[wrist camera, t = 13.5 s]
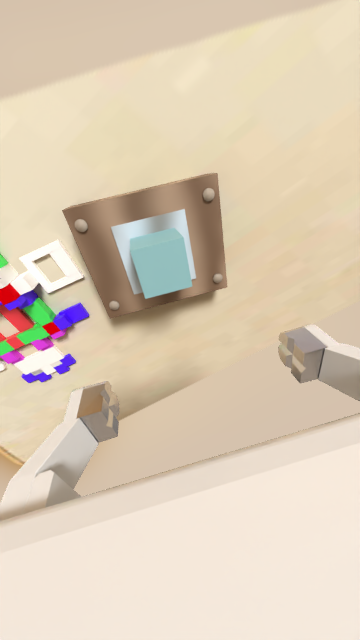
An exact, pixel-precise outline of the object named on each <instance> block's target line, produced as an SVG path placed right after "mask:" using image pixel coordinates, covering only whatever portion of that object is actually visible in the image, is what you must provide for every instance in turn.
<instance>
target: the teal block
mask: <svg viewBox="0 0 360 640" xmlns="http://www.w3.org/2000/svg"><path fill="white" fill-rule="evenodd" d="M130 252H131V255H132V259H133V262H134V265H135V268H136V271H137V274H138V277H139V281H140V284H141V287H142V290H143V293H144V296H145V299H147V298H151V297H155V296H159V295H162V294H166V293H170V292H174V291H177V290H181V289H185V288H189V287H192V281H191V276H190V270H189V264H188V259H187V253H186V248H185V242H184V237H183V236H182V235H181V234H180V233H179V232H178V231H177V230H176V229H175V228H171V229H167V230H163V231H159V232H155V233H151V234H147V235H143V236H139V237H135V238H131V239H130Z"/></svg>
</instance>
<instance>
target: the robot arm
mask: <svg viewBox="0 0 360 640" xmlns="http://www.w3.org/2000/svg"><path fill="white" fill-rule="evenodd" d="M279 340H280V341H281V344H280V346H279V347H278V352H279V356H280V359H281V360H282V362H283V363H284V365H285V366H287V367H289V368H291V373H292V374H293V376H294V377H295V378H296V379H297V380H298V381H299V383H304V382H308V381H312V380H315V379H318V380H320V381H322V382H324V383H326V384H328V385H329V386H332V387H333V388H335V389H338V390H339V391H341V392H343V393H345V394H347V395H349V396H351V397H352V398H354V399H356V400H358V401H360V348H358V347H354V346H351V345H347V344H344V343H343V344H339V343H338V342H336V341H335V340H334V339H332V338H331V337H330V336H329V335H327V334H326V333H325V332H323V331H322V330H321V329H320V328H318V327H317V326H316V325H314V324H309V325H306V326H302V327H299V328H296V329H292V330H289V331H285V332H282V333H280V335H279ZM118 414H119V403H118V399H117V396H116V394H115V393H114V392H112V391H111V385H110V383H109V382H108V381H106V382H102V383H98V384H94V385H90V386H86V387H83V388H79V389H75V390H73V391H72V393H71V396H70V399H69V403H68V406H67V410H66V413H65V417H64V420H63V423H60V424H59V425H58V426H57V427H56V428H55V429H54V430H53V432H52V433H51V434H50V435H49V436H48V437H47V439H46V440H45V441H44V442H43V443H42V444H41V445H40V447H39V448H38V449H37V450H36V451H35V452H34V453H33V455H32V456H31V457H30V458H29V459H28V460H27V462H26V463H25V464H24V465H23V466H22V467H21V468H20V470H19V471H18V472H17V473H16V474H15V475H14V477H13V478H12V479H11V480H10V481H9V484H8V486H7V489H6V492H5V494H4V496H3V499H2V501H1V504H0V640H360V413H358V414H355V415H352V416H349V417H345V418H342V419H338V420H336V421H332V422H328V423H325V424H322V425H318V426H315V427H312V428H309V429H305V430H302V431H298V432H295V433H292V434H289V435H285V436H282V437H279V438H276V439H272V440H269V441H266V442H262V443H259V444H255V445H252V446H249V447H246V448H242V449H239V450H235V451H232V452H229V453H225V454H222V455H219V456H216V457H212V458H209V459H206V460H202V461H199V462H196V463H192V464H189V465H186V466H183V467H180V468H176V469H172V470H169V471H166V472H162V473H159V474H156V475H153V476H149V477H146V478H143V479H139V480H136V481H133V482H130V483H126V484H123V485H119V486H116V487H113V488H109V489H106V490H103V491H99V492H96V493H93V494H89V495H86V496H83V497H81V496H80V495H79V494H78V493H77V492H76V491H74V490H73V489H74V487H75V485H76V484H77V482H78V480H79V478H80V476H81V475H82V473H83V471H84V469H85V467H86V466H87V464H88V462H89V460H90V458H91V457H92V455H93V453H94V451H95V449H96V447H97V446H98V443H99V442H102V441H105V440H108V439H111V438H114V437H117V436H118V421H117V419H116V417H117V416H118Z"/></svg>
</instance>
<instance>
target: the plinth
mask: <svg viewBox="0 0 360 640" xmlns="http://www.w3.org/2000/svg"><path fill="white" fill-rule="evenodd" d="M62 211H63V213H64V216H65V218H66V220H67V222H68V225H69V227H70V229H71V232H72V234H73V236H74V238H75V241H76V243H77V245H78V247H79V250H80V252H81V254H82V256H83V259H84V261H85V263H86V265H87V268H88V270H89V272H90V274H91V277H92V279H93V281H94V284H95V286H96V288H97V290H98V293H99V295H100V297H101V299H102V302H103V304H104V306H105V308H106V311H107V313H108V315H109V317H110V318H113V317H117V316H121V315H124V314H128V313H132V312H136V311H139V310H143V309H147V308H151V307H154V306H158V305H162V304H166V303H170V302H173V301H177V300H181V299H185V298H188V297H192V296H196V295H200V294H203V293H207V292H211V291H215V290H218V289H222V288H226V287H227V278H226V267H225V255H224V244H223V232H222V220H221V209H220V197H219V186H218V174H217V173H213V174H205V175H200V176H196V177H192V178H188V179H184V180H179V181H175V182H171V183H167V184H163V185H158V186H154V187H150V188H146V189H142V190H137V191H133V192H129V193H125V194H121V195H116V196H112V197H108V198H104V199H100V200H96V201H91V202H87V203H83V204H79V205H75V206H71V207H68V208H66V209H64V210H62ZM171 228H175V229H176V230H177V231H178V232H179V233H180V234H181V235H182V236H183V237H184V242H185V248H186V253H187V259H188V264H189V270H190V276H191V281H192V287H189V288H185V289H181V290H177V291H174V292H170V293H166V294H162V295H159V296H155V297H151V298H147V299H145V296H144V293H143V290H142V287H141V284H140V281H139V277H138V274H137V271H136V268H135V265H134V262H133V259H132V255H131V252H130V239H131V238H135V237H139V236H143V235H147V234H151V233H155V232H159V231H163V230H167V229H171Z"/></svg>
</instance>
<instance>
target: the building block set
mask: <svg viewBox="0 0 360 640" xmlns="http://www.w3.org/2000/svg"><path fill="white" fill-rule="evenodd" d="M47 254H50V255H51V257H52V258H53V259H54V261H55V262H56V263H57V265H58V266H59V267H60V269H61V270H62V271H63V273H64V274H65V275H66V277H64V278H62V279H59V280H57V281H55V282H53V283H51V282H50V281H49V279H48V278H47V277H46V276H45V274H44V273H43V272H42V271H41V269H40V268H39V267H38V266H37V264H36V263H35V262H34V260H36V259H38V258H40V257H43V256H45V255H47ZM19 259H20V260H21V261H22V263H23V264H24V265H25V266H26V268H27V269H28V270H29V271H27V272H25V273H22V274H20V275H19V273H18V272H17V271H16V270H15V269H14V268H13V267H12V265H11V264H10V263H8V262H7V261H6V260H5V259H4V258H3V257H2V255H1V254H0V313H1V314H2V315H3V316H4V317H5V318H6V319H7V320H8V321H10V322H11V323H12V324H13V325H14V326H15V327H16V328H17V329H18V330H19V331H20V332H18V333H16V334H14V335H12V336H10V337H7V338H5V337H4V336H3V335H2V334H1V333H0V357H1V358H2V359H3V360H4V361H6V362H7V363H8V364H9V363H12V364H14V365H15V366H16V367H17V368H18V369H19V370H21V371H22V372H23V373H24V374H23V375H22V378H23V379H24V380H26V381H27V382H28V383H31V382H33V381H35V380H37V379H39V380H40V381H41V382H44V381H46V380H48V379H50V378H51V377H52V376H51V375H50V374H51V373H53V372H56V371H57V372H58V373H59V374H62V373H64V372H66V371H69V369H70V368H69V367H68V366H69V365H71V364H74V363H75V362H76V360H75V359H74V358H73V357H72V356H71V355H70V354H68V355H64V354H63V353H62V352H61V351H60V350H59V349H58V348H57V347H56V346H55V345H54V344H53V343H52V342H51V341H50V340H49V339H48V338H47V337H48V336H51V337H52V338H53V339H56V338H58V337H61V336H63V335H65V332H66V330H67V328H68V327H70V326H72V324H73V323H75V322H77V321H80V320H82V319H84V318H86V317H89V313H88V312H87V311H86V309H85V308H84V307H83V305H82V304H81V303H78V304H76V305H74V306H71V307H69V308H67V309H65V310H63V311H60V312H59V314H58V315H55V314H54V312H53V311H52V310H51V309H50V308H49V307H48V306H46V304H45V303H44V302H43V301H42V300H41V299H40V298H39V297H38V295H37V294H36V293H35V292H34V291H33V289H34V288H35V287H36V285H37V284H38V283H40V284H41V286H42V287H43V288H44V289H45V290H46V291H47V293H50V292H52V291H54V290H57V289H59V288H61V287H63V286H65V285H68V284H70V283H72V282H74V281H76V280H78V279H81V278H83V277H84V275H83V273H82V272H81V271H80V269H79V268H78V266H77V265H76V263H75V262H74V260H73V259H72V258H71V256H70V255H69V253H68V252H67V250H66V249H65V247H64V246H63V244H62V243H61V241H60V240H59V239H58V240H56V241H54V242H52V243H50V244H48V245H46V246H43V247H41V248H39V249H37V250H35V251H33V252H31V253H29V254H26V255H24V256H22V257H20V258H19ZM37 297H38V298H37ZM21 309H24V310H25V311H26V312H27V313H28V314H29V316H30V317H31V318H32V319H33V320H34V321H35V322H38V323H36V324H34V323H33V322H32V321H31V320H30V319H29V317H28V316H27V315H26V314H25V313H24V312H23V311H22V310H21ZM28 343H31V344H32V345H34V346H35V347H36V348H37V349H38V350H40V351H38V352H36V353H34V354H31V355H29V356H27V357H24V356H23V355H21V354H20V353H19V352H18V351H17V350H16V349H17V348H19V347H21V346H24V345H26V344H28ZM4 361H0V371H2V370H4V369H5V368H6V364H5V362H4Z"/></svg>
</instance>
